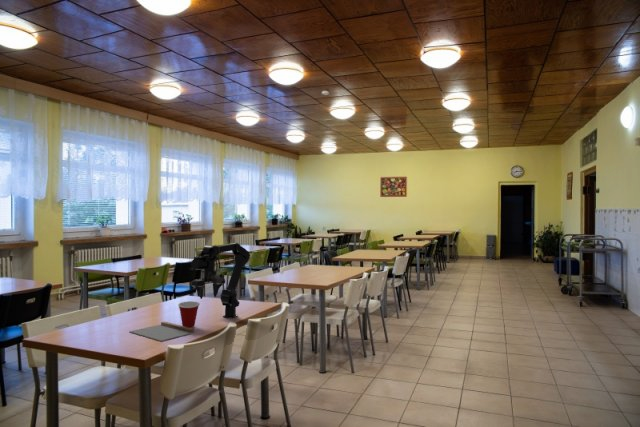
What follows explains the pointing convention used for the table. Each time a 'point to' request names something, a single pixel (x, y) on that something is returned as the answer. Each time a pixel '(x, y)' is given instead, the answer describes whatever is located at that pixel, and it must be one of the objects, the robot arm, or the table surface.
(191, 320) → the plastic cup
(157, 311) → the table surface
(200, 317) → the table surface
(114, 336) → the table surface
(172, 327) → the stop strip
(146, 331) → the mat
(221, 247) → the robot arm
